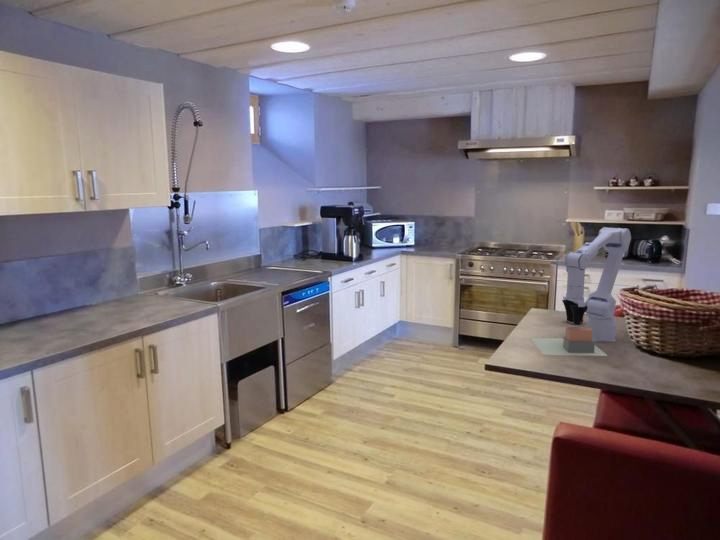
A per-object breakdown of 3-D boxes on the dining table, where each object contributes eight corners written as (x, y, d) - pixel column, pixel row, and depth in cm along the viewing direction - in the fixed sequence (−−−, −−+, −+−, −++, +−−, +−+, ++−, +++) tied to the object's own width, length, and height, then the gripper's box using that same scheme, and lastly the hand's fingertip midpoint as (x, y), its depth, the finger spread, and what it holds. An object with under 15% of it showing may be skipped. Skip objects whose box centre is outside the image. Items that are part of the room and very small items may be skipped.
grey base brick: (588, 347, 187) (588, 337, 186) (594, 352, 181) (594, 342, 180) (563, 347, 188) (563, 336, 187) (568, 352, 182) (568, 341, 181)
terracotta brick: (587, 337, 186) (588, 327, 185) (592, 341, 181) (592, 330, 181) (565, 337, 186) (565, 326, 186) (569, 341, 182) (569, 330, 181)
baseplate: (587, 339, 198) (587, 338, 197) (607, 356, 178) (607, 355, 178) (529, 339, 200) (529, 338, 200) (543, 355, 180) (543, 354, 180)
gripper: (558, 281, 193) (556, 316, 195) (570, 289, 178) (568, 326, 181) (577, 281, 192) (575, 316, 194) (591, 289, 178) (589, 326, 180)
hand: (573, 321), depth 188 cm, fingers open, 7 cm apart
